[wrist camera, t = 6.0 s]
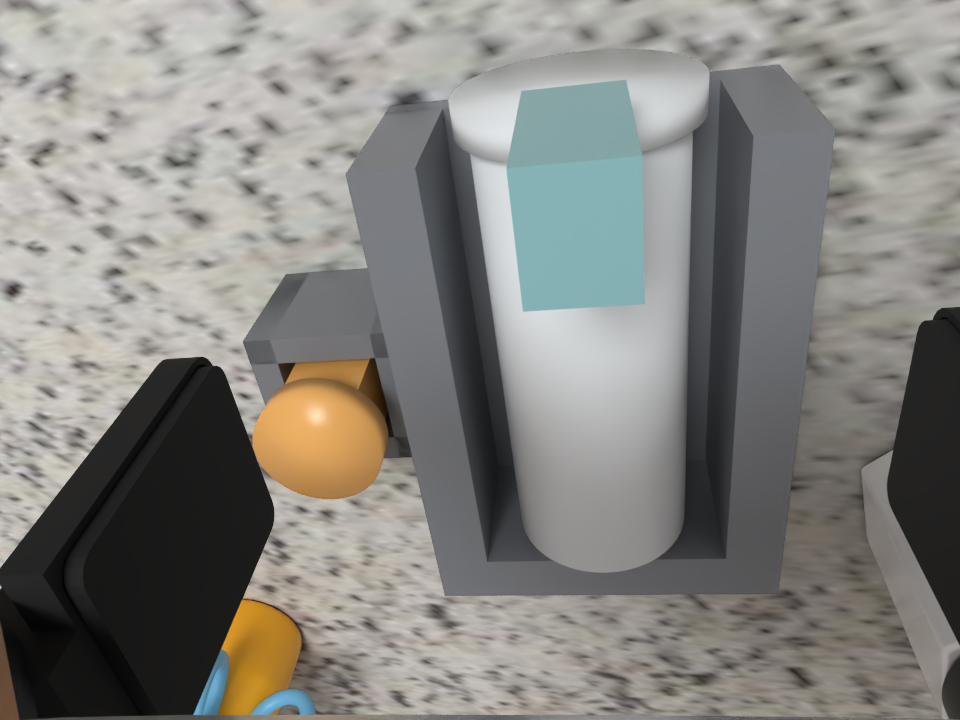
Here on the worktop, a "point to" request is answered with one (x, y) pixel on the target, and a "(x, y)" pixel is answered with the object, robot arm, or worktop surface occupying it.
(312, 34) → the worktop surface
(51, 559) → the robot arm
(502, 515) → the housing
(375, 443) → the plunger
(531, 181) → the cartridge
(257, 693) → the ringed yellow tube
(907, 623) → the jar
